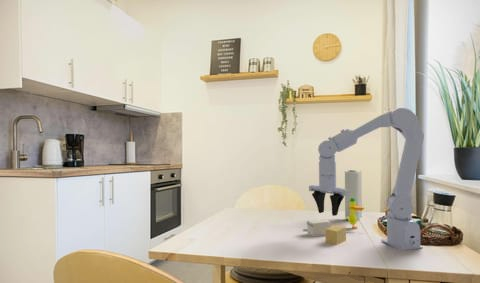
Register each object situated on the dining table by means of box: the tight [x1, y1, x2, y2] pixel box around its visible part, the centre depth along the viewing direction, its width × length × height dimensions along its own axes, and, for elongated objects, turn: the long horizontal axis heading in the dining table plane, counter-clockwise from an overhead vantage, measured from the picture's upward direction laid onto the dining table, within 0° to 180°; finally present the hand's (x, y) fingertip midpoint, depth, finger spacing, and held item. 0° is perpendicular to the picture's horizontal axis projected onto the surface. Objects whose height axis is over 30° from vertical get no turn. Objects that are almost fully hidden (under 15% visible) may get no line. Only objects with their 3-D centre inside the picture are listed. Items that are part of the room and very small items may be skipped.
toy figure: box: [346, 198, 365, 230], centre depth 121 cm, size 7×4×12 cm, turn 61°
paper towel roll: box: [344, 170, 363, 221], centre depth 136 cm, size 7×6×21 cm
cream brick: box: [306, 218, 331, 237], centre depth 112 cm, size 4×7×5 cm, turn 107°
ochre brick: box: [325, 224, 347, 246], centre depth 103 cm, size 4×7×5 cm, turn 138°
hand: (327, 213), depth 107 cm, fingers open, 5 cm apart
